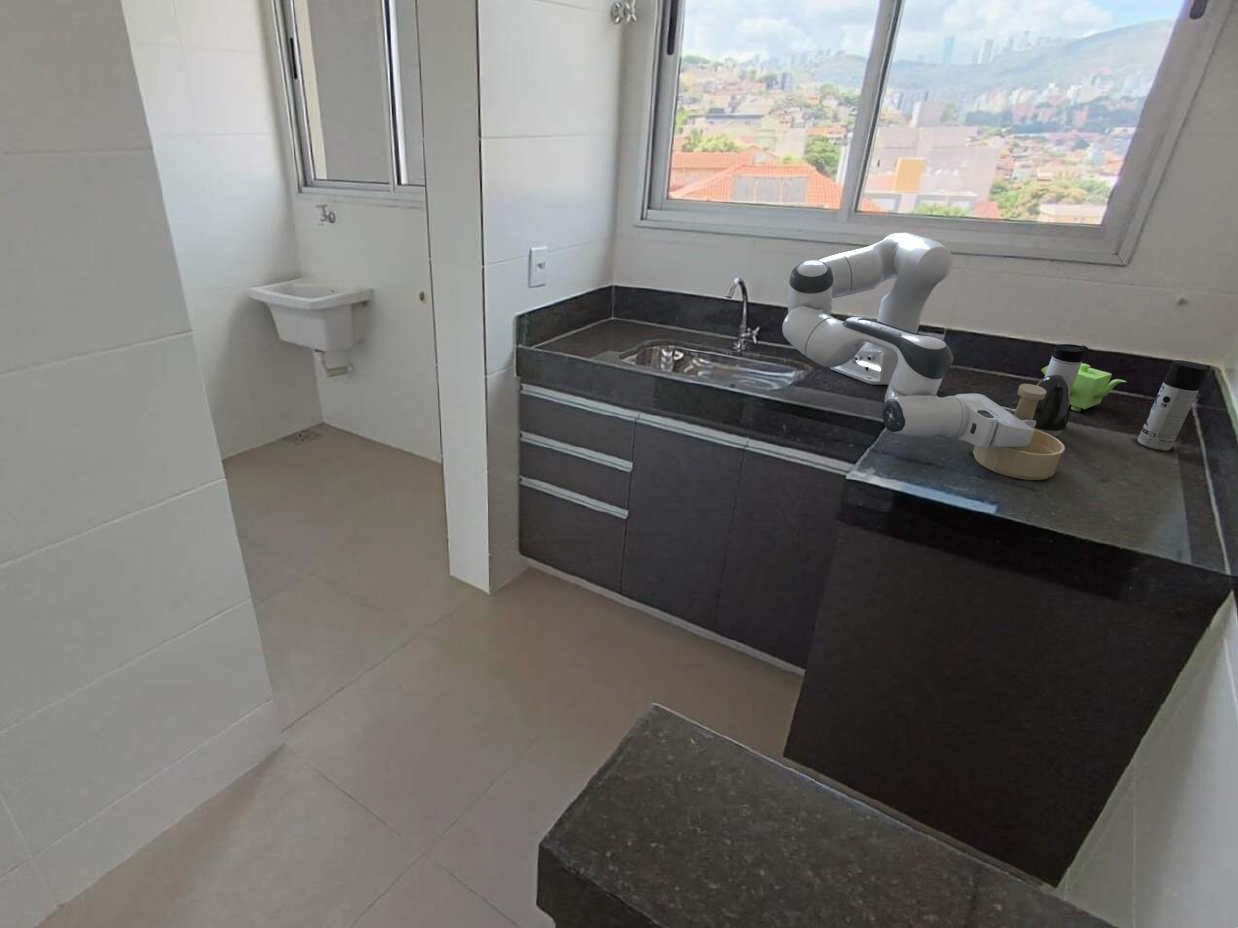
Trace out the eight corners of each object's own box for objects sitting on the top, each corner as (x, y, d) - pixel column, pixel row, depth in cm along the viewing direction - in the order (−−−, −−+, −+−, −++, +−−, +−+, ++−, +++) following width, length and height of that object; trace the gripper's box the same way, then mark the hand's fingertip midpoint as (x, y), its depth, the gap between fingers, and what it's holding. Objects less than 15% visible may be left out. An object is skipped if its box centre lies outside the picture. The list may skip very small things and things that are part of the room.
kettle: (1112, 417, 174) (1129, 376, 169) (1054, 412, 176) (1069, 371, 171) (1085, 397, 188) (1100, 358, 182) (1031, 392, 189) (1044, 353, 184)
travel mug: (1063, 429, 166) (1093, 350, 157) (1034, 426, 167) (1062, 347, 158) (1054, 419, 171) (1082, 343, 162) (1026, 416, 172) (1052, 340, 163)
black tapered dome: (1015, 440, 158) (1036, 378, 151) (1009, 424, 167) (1029, 365, 160) (1064, 448, 155) (1088, 386, 148) (1055, 431, 164) (1077, 372, 157)
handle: (998, 457, 144) (1021, 391, 137) (996, 446, 149) (1018, 382, 143) (1023, 462, 142) (1048, 396, 136) (1021, 450, 148) (1044, 386, 141)
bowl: (960, 461, 146) (968, 436, 144) (986, 440, 157) (994, 417, 154) (1042, 488, 137) (1052, 462, 134) (1063, 465, 147) (1073, 440, 144)
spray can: (1140, 436, 164) (1175, 357, 155) (1173, 446, 160) (1211, 365, 150) (1133, 444, 159) (1169, 363, 150) (1168, 454, 155) (1207, 371, 146)
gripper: (936, 412, 152) (994, 413, 153) (985, 452, 134) (1051, 453, 135) (943, 385, 149) (1003, 387, 150) (995, 422, 131) (1062, 424, 132)
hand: (1026, 418), depth 142 cm, fingers closed on handle, 3 cm apart
